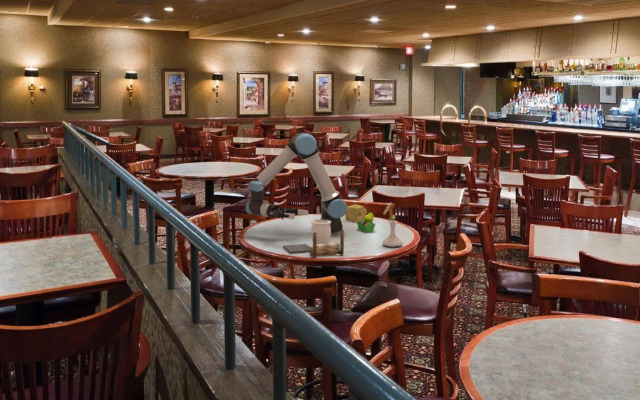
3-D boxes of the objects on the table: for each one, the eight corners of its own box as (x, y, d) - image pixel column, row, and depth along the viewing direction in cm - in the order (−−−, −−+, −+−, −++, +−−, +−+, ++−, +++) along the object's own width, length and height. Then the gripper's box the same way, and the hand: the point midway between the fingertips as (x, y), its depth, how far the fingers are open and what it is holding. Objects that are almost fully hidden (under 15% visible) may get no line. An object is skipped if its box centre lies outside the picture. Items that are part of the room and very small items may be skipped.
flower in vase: (389, 242, 366) (390, 199, 361) (406, 245, 358) (407, 201, 354) (376, 246, 356) (377, 202, 351) (393, 249, 348) (395, 204, 344)
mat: (305, 246, 355) (305, 243, 355) (313, 252, 342) (313, 249, 342) (283, 247, 351) (283, 245, 351) (290, 253, 338) (290, 251, 338)
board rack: (339, 252, 342) (339, 228, 340) (344, 255, 336) (344, 231, 334) (309, 254, 337) (309, 230, 335) (313, 257, 330) (313, 233, 328)
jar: (333, 246, 354) (333, 220, 352) (327, 251, 345) (327, 223, 342) (315, 245, 358) (315, 218, 355) (308, 249, 348) (308, 222, 345)
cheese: (367, 221, 425) (367, 206, 423) (356, 223, 417) (356, 208, 415) (355, 218, 432) (355, 204, 430) (344, 221, 424) (344, 206, 422)
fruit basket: (355, 229, 398) (356, 211, 396) (367, 228, 402) (368, 210, 400) (365, 233, 388) (365, 215, 386) (377, 232, 392) (378, 213, 390)
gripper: (282, 213, 379) (312, 218, 368) (256, 220, 358) (288, 225, 347) (282, 201, 377) (313, 205, 367) (256, 207, 357) (288, 211, 346)
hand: (301, 214), depth 357 cm, fingers open, 13 cm apart
